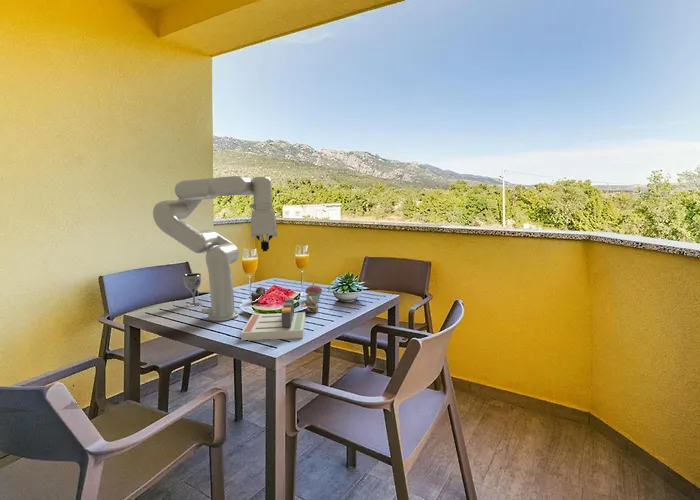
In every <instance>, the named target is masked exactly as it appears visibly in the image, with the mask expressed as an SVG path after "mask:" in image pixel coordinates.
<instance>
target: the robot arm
mask: <svg viewBox="0 0 700 500" xmlns="http://www.w3.org/2000/svg"><path fill="white" fill-rule="evenodd" d="M272 188H273V187H272V179H271V178H270V177H269V176H255V177H248V176H247V177H246V176H241V175H231V176H222V177H221V176H220V177H212V178H211V177H209V178H199V179H186V180H181V181H179V182H177V183H176V184H175V186H174V193H175V195H176V197H177V198H178V199H176V200H175V199H174V200H172V199H171V200H162V201H161V200H160V201H159V202H158V203H156V204H155V205H154V207H153V210H152V217H153V220H154V223H155V224H156V226H157V227H158V228H159V229H160V230H161V232H163V233H164V234H165V235H167V236H168V237H171V238H172V239H174V240H175V241H177V242H178V243H180V244H181V245H183V246H184V247H186V248H188V250H190V251H192V252H193V253H195V254H204V253H205V264H206V267H207V272H208V279H209V280H208V281H209V296H210V307H209V308H207V307H203V308H201V313H202V314H204V315H205V314H208V315H207V319H208V320H210V321H211V320H212V322H223V321H224V322H225V321H230V320H234V319H236V318H238V316H239V312H238V311H236V309H235V297H234V296H235V295H234V294H235V292H234V282H233V271H232V269H231V266H230V265H231V264H234V263H235V262H237V260H238V259H239V258H240V250H239V248H238V246H236V244H235V243H233V242H232V241H230V240H229V239H227V238H226V237H224V236H222V235H220V234H219V233H217V232H216V231H213V230H209V229H207V230H206V229H204V230H198V229H197V228H196V227H193V226H192V225H190V224H189V223H187V222H186V221H183V220H184V219H186V218H188V217H189V216H190V215H191V214H192V213H193V212H194V210H196V208H197V207H198V205H200V203H201V202H202V201H203V200H214V199H216V198H218V197H229V196H252V197H253V198H252V199H253V200H252V201H253V203H252V204H250V205H249V206H250V207H249V208H251V209H253V210H252V211H251V214H250V215H251V216H250V232H251V238H254V239H257V240H258V241H260V247H261V248H260V250H262V252H263V253H264V252H268V250H270V243H269V242H270V241H271V239H273V238H276V237H278V235H279V234H278V230H277V229H278V228H277V227H278V226H277V218H276V211H275V210H273V192H272V190H273V189H272ZM264 235H265V238H264Z"/></svg>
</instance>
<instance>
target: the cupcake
mask: <svg viewBox="0 0 700 500" xmlns="http://www.w3.org/2000/svg"><path fill="white" fill-rule="evenodd" d="M311 280H312V285H310V286H308V287H306V289H305V294H306V295H307V296H313V297H318V301H319V300H320V297H321V294H322V293H323V289H322V287H321V286H318V285H315V283H314V280H315V279H314V278H312V279H311Z"/></svg>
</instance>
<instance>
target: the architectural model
mask: <svg viewBox="0 0 700 500" xmlns="http://www.w3.org/2000/svg"><path fill="white" fill-rule="evenodd" d="M300 307H301V308H303V307H304V308H306V312H311V313H316V314H318V313H319V300H318V297H313V296H308V295H306V302H305V303H303V304H301V305H300Z"/></svg>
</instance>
